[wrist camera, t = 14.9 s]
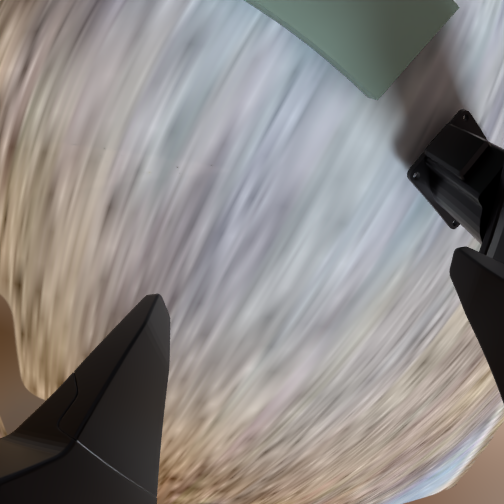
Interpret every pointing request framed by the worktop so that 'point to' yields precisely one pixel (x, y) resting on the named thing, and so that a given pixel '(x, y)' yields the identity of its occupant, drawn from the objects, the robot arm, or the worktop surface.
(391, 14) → the mat
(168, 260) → the worktop surface
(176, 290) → the worktop surface
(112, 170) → the worktop surface
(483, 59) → the worktop surface
